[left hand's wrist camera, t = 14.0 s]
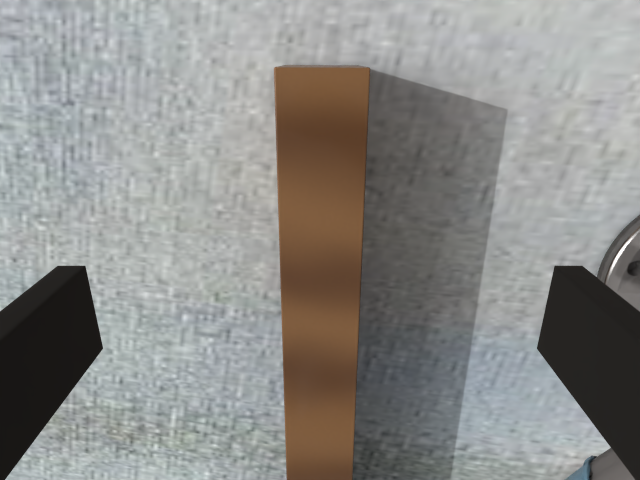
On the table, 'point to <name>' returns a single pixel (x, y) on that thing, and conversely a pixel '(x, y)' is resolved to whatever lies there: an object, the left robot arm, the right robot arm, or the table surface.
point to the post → (320, 259)
